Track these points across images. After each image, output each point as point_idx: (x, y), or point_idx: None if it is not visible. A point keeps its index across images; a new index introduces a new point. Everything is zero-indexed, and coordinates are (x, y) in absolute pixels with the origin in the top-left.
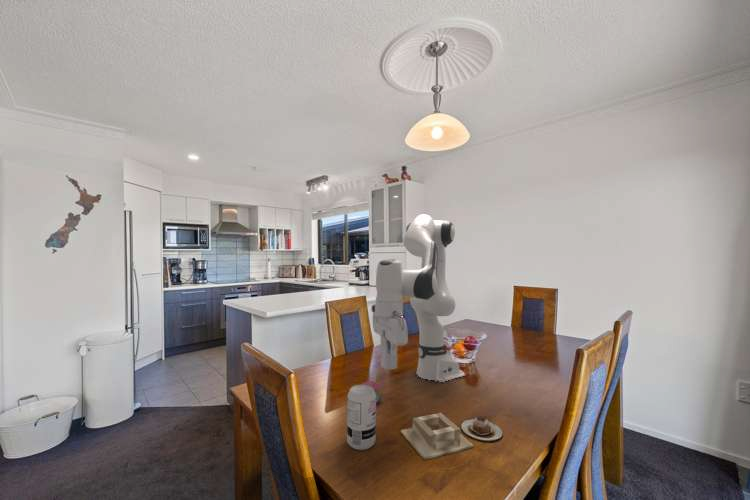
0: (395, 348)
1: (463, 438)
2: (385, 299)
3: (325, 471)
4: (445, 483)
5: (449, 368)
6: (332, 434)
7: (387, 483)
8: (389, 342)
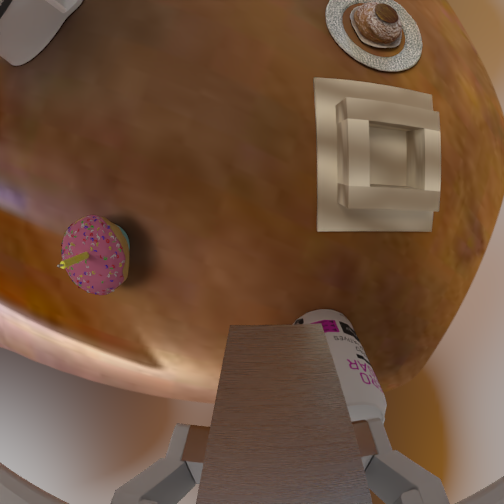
0: (403, 465)
1: (404, 93)
2: None
3: None
4: (479, 227)
5: None
6: None
7: (438, 318)
8: None
